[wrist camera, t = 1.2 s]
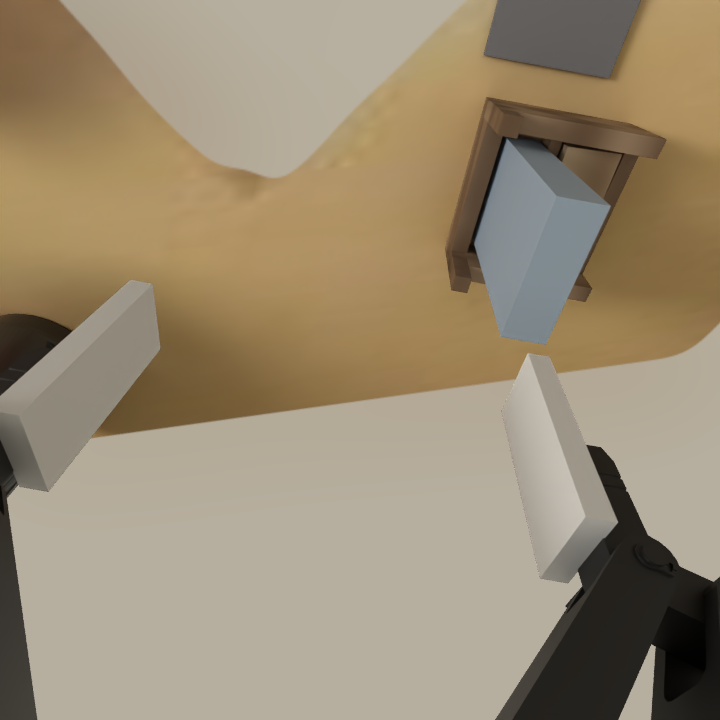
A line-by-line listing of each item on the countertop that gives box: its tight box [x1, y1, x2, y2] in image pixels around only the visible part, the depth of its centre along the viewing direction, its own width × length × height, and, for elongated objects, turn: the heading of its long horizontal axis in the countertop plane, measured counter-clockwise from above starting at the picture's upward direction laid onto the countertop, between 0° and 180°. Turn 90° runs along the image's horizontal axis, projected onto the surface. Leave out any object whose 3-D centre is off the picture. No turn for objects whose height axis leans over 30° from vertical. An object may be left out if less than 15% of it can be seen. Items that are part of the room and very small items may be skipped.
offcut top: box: [557, 142, 622, 199], centre depth 35 cm, size 4×8×2 cm, turn 173°
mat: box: [484, 0, 641, 78], centre depth 31 cm, size 9×7×1 cm
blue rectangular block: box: [472, 136, 611, 345], centre depth 31 cm, size 3×8×16 cm, turn 171°
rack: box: [445, 97, 666, 302], centre depth 35 cm, size 11×12×8 cm
